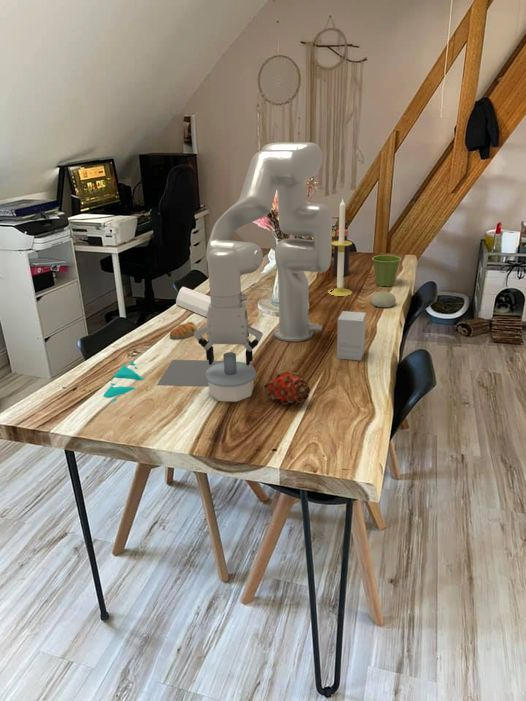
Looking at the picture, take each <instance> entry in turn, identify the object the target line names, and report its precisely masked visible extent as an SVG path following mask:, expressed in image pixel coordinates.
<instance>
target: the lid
mask: <svg viewBox="0 0 526 701" xmlns="http://www.w3.org/2000/svg"><path fill="white" fill-rule="evenodd" d="M223 361H224V362H223V363H219V364H216V365H213V366H212V367H210V368H209V369H208V370H207V371H206V379H207V381H208V382H209V383H211V384H213V385H216V386H222V387H234V386H240V385H244V384H246V383H249V382H250V381H252V380H253V381H254V380H255V378H256V374H257V371H256V368H255V367H254V366H253V365H251V363H250V364H249V366H247V365H246V362H243V361H237V353H236V352H233V351H230V352H229V351H228V352H225V353H224V354H223Z"/></svg>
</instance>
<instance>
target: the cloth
mask: <svg viewBox="0 0 526 701" xmlns="http://www.w3.org/2000/svg"><path fill="white" fill-rule="evenodd" d="M129 366H134V369H135V370H138V369H139V367H137V366H136V364H135V363H134V360H132V361H130V363H129ZM135 370H133V369H131V368H129V367H127V366H126V365H125V364H123V365H122V366H121V368H120V369H119V370H118V371H117V372H116V373H115V374H114V375H113V376H114V377H113V376H112V378H111V379H110V385H111V386H109V388H107V390H106V391H105V393H104V394H103V395H102V397H103V398H107V399H111V398H114V399H112V400H111V401H110V403H114V402H115V401H117V400H118V399H117V398H115V397H118V396H120V395H124V396H125V395H126V393H129V392H131V391H133V390H136V387H134V386H122V385H121V386H115V385H116V383H111V382H113V379H125V380H126V379H127V380H135V381H140V382H141V381H145V380H146V377H144V378H143V377H142V376H140V375H139V374H138V373H136V372H135Z"/></svg>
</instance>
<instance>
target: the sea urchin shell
mask: <svg viewBox="0 0 526 701" xmlns="http://www.w3.org/2000/svg"><path fill="white" fill-rule="evenodd" d="M370 302H371V305H373V306H374V307H376V306H377V307H378V308H385V307H387V308H391V307H393V306H395V304H396V302H397V299H396V296H395V295H394V294H393V293H392V292H390V291H389V292H388V291H386V290H381V291H377V292H375V293H373V295H372V296H371V298H370Z"/></svg>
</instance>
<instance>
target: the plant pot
mask: <svg viewBox="0 0 526 701" xmlns="http://www.w3.org/2000/svg"><path fill="white" fill-rule="evenodd" d="M371 259H372V262H373V263H372V264H373V267H374V277H375V283H376V286H379V287H391V286H393V285H394V284H395V280H396V277H397V272H398V267H399V266H400V262H401V260H402V258H401V257H400V256H397V255H392V254H390V255H388V254H381V255H374V256H372V258H371Z"/></svg>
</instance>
